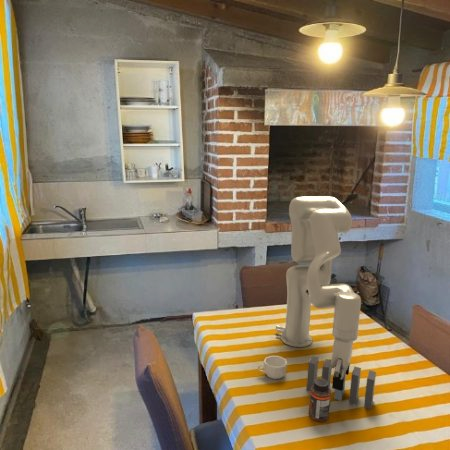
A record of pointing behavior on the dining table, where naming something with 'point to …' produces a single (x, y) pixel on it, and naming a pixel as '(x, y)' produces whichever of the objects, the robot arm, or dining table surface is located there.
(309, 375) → the domino
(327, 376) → the domino
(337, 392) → the domino
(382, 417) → the dining table surface
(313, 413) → the supplement bottle
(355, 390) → the domino
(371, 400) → the domino
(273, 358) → the teacup
